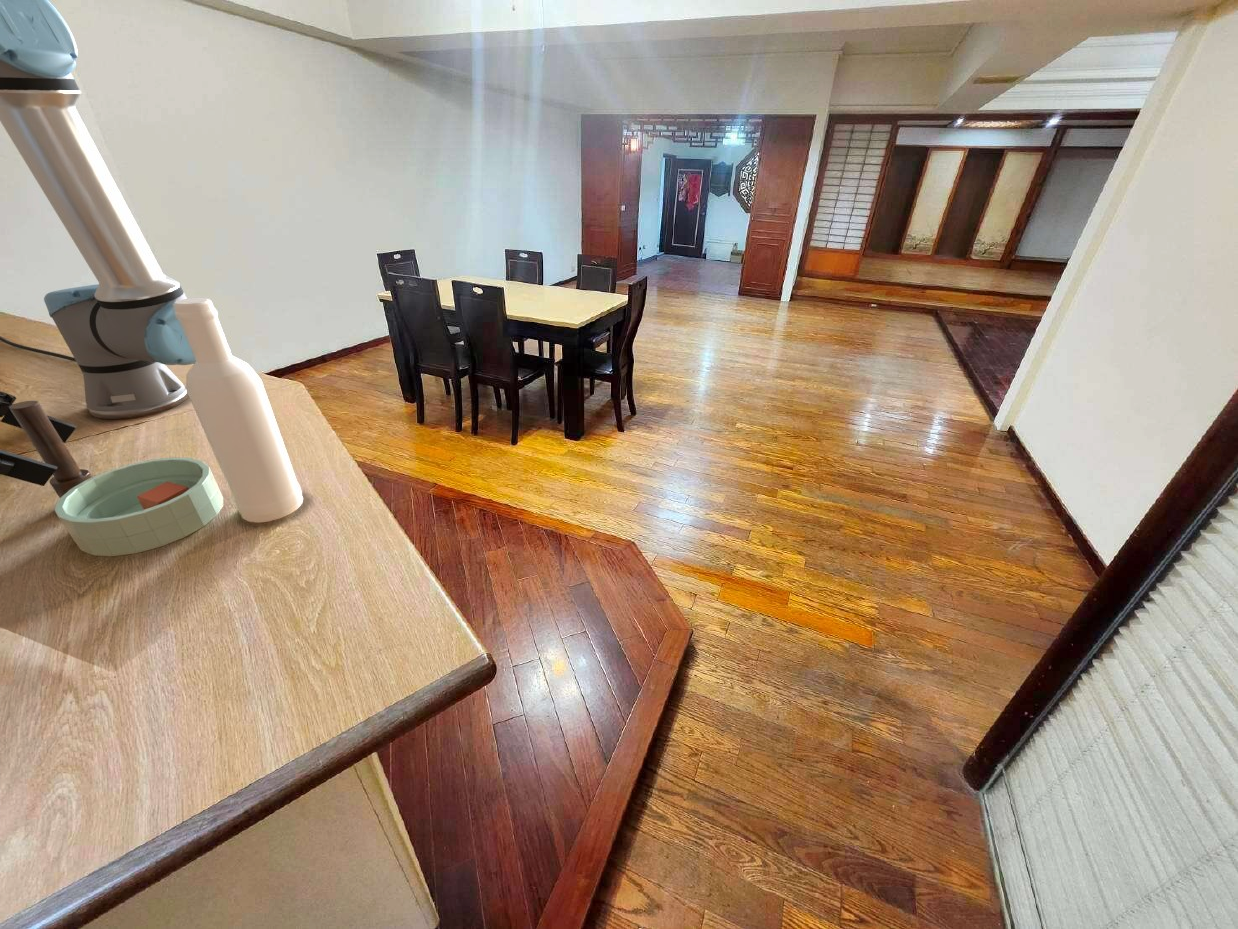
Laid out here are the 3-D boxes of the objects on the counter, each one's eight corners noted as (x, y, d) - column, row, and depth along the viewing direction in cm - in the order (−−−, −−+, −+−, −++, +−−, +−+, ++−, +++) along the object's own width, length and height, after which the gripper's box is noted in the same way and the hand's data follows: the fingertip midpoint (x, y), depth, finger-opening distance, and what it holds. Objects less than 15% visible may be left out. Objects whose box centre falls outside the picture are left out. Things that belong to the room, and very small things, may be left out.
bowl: (67, 525, 68) (43, 489, 65) (202, 479, 78) (187, 446, 75) (96, 577, 60) (70, 539, 57) (242, 518, 71) (227, 483, 67)
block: (149, 519, 68) (136, 496, 66) (179, 504, 72) (167, 481, 70) (170, 526, 68) (157, 502, 65) (199, 509, 71) (188, 486, 69)
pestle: (65, 506, 71) (-2, 404, 63) (102, 494, 74) (42, 395, 66) (71, 516, 69) (3, 413, 61) (109, 504, 72) (48, 404, 64)
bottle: (311, 510, 73) (239, 303, 57) (249, 533, 68) (152, 312, 52) (295, 488, 77) (225, 290, 62) (236, 507, 73) (143, 298, 57)
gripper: (-172, 361, 61) (63, 439, 76) (-321, 443, 44) (21, 522, 59) (-135, 312, 61) (92, 400, 76) (-270, 376, 44) (59, 473, 59)
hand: (62, 454), depth 68 cm, fingers open, 13 cm apart
